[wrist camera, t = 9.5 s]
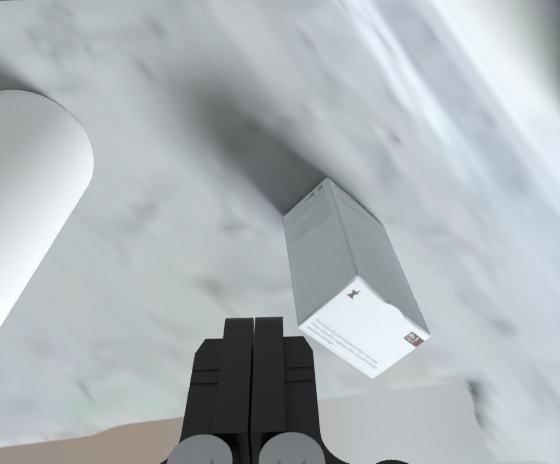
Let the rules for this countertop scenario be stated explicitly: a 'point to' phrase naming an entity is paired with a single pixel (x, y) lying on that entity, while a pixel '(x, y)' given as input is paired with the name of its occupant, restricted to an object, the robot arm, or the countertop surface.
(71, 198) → the tall pillar cylinder
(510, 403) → the countertop surface
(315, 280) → the skincare box
